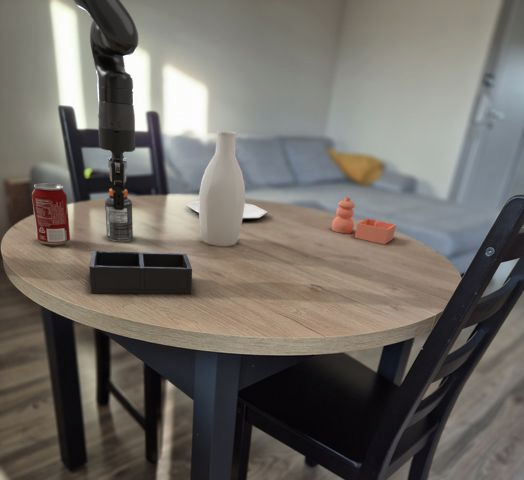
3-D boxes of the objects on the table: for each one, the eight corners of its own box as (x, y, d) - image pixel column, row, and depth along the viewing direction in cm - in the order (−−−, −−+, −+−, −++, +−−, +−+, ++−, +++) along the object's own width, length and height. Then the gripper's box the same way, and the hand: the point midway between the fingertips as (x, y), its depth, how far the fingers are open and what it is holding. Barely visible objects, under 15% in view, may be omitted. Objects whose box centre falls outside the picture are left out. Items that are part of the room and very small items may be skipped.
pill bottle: (118, 233, 117) (117, 185, 112) (138, 238, 115) (137, 190, 110) (101, 238, 112) (98, 188, 107) (121, 243, 110) (119, 192, 105)
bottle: (195, 245, 116) (201, 130, 104) (198, 233, 125) (203, 127, 114) (241, 249, 117) (252, 136, 105) (240, 237, 127) (250, 132, 115)
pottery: (392, 238, 145) (400, 205, 140) (384, 244, 137) (392, 209, 133) (337, 226, 151) (342, 193, 147) (326, 231, 144) (332, 197, 139)
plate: (272, 212, 158) (273, 208, 158) (251, 227, 138) (252, 221, 137) (206, 201, 163) (206, 196, 162) (176, 213, 142) (176, 208, 142)
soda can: (70, 247, 104) (66, 190, 99) (36, 246, 102) (29, 188, 96) (70, 238, 110) (65, 183, 104) (37, 237, 108) (31, 182, 102)
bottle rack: (90, 293, 84) (89, 266, 81) (93, 275, 91) (92, 250, 89) (191, 294, 88) (192, 269, 86) (185, 276, 96) (186, 253, 94)
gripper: (99, 121, 108) (102, 198, 115) (96, 127, 96) (100, 212, 103) (134, 125, 110) (135, 200, 117) (135, 130, 98) (136, 214, 105)
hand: (119, 205), depth 110 cm, fingers closed on pill bottle, 6 cm apart
